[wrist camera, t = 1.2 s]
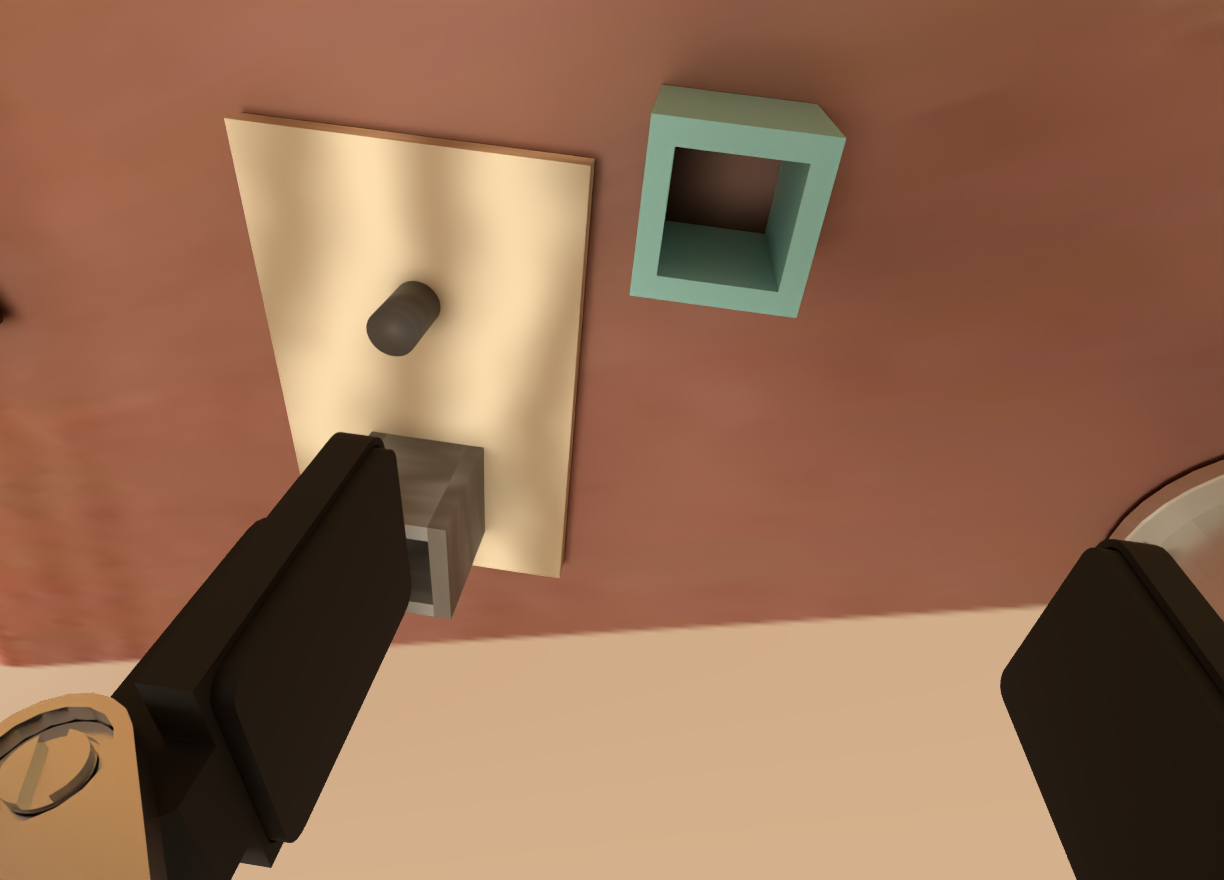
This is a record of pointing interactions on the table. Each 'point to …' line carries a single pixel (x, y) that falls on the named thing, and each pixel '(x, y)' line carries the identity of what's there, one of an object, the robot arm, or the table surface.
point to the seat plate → (479, 271)
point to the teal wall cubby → (725, 258)
